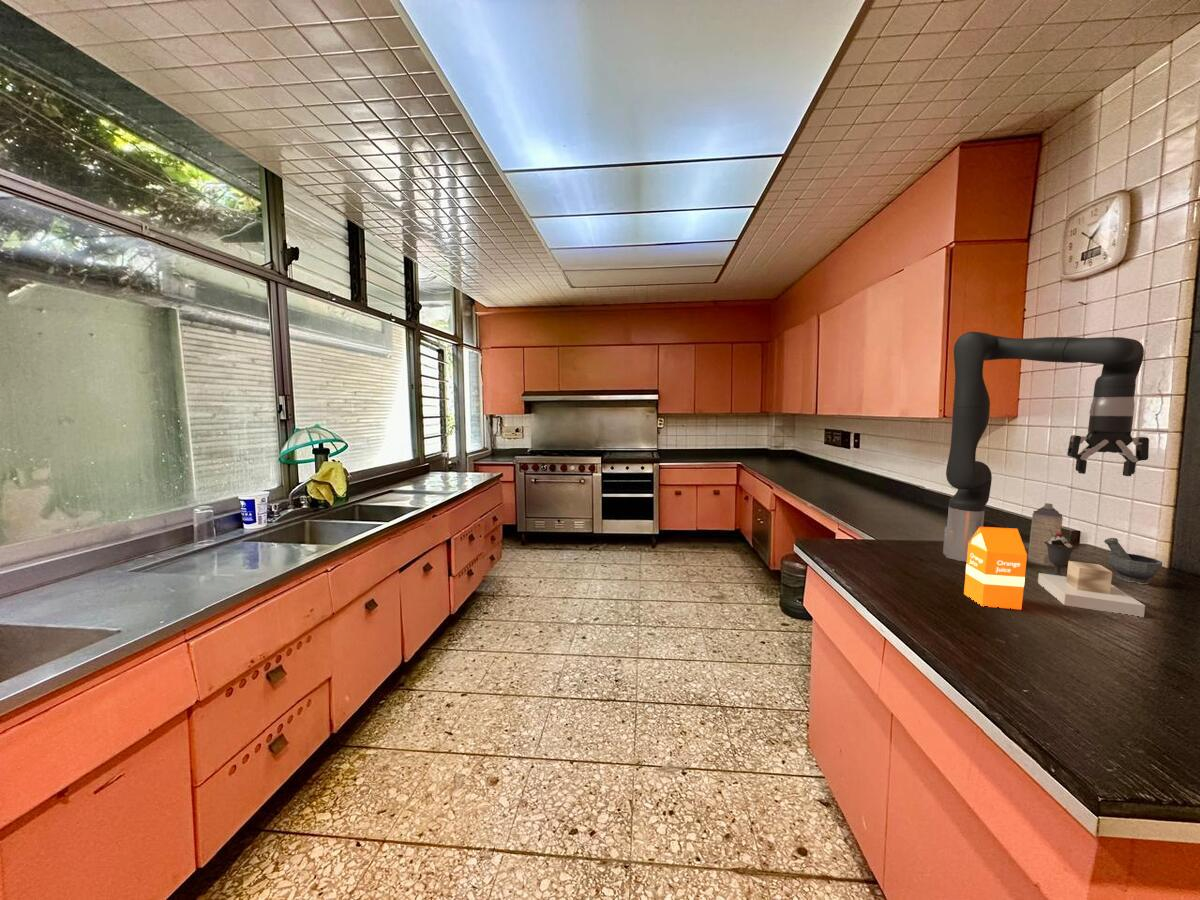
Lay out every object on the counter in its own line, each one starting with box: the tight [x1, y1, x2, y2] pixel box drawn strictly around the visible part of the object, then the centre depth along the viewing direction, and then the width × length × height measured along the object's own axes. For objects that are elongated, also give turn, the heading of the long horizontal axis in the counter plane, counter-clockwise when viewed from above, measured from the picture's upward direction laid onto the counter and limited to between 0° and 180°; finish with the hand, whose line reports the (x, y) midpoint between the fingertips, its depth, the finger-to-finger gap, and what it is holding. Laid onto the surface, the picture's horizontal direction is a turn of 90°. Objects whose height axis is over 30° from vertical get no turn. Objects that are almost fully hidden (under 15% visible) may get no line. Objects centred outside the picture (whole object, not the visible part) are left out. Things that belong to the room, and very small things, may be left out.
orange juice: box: [963, 526, 1028, 610], centre depth 113 cm, size 8×9×20 cm
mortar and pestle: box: [1103, 537, 1163, 583], centre depth 127 cm, size 11×9×12 cm
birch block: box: [1066, 560, 1113, 594], centre depth 115 cm, size 6×6×6 cm
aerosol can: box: [1027, 502, 1064, 568], centre depth 140 cm, size 7×7×20 cm
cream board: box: [1037, 572, 1146, 618], centre depth 115 cm, size 14×16×3 cm
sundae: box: [1044, 527, 1077, 577], centre depth 129 cm, size 7×7×15 cm
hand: (1103, 474), depth 116 cm, fingers open, 8 cm apart
